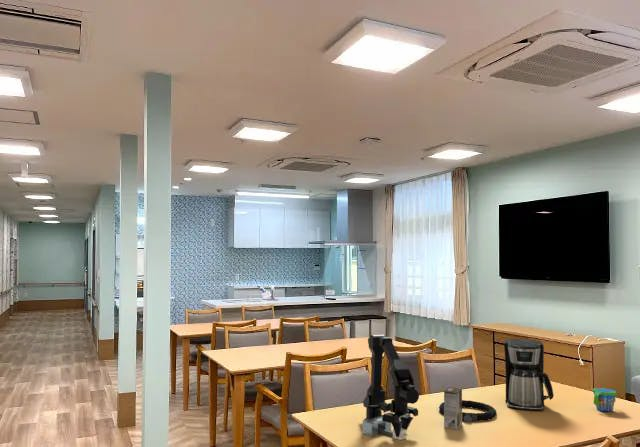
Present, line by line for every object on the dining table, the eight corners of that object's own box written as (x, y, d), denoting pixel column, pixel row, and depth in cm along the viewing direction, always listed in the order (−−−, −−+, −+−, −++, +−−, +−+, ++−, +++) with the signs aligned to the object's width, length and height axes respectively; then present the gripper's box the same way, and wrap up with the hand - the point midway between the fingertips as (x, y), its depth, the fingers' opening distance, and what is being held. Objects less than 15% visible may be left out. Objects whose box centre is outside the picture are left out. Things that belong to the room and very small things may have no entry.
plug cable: (361, 429, 236) (362, 420, 236) (367, 427, 239) (367, 418, 239) (403, 440, 221) (403, 432, 222) (408, 438, 224) (408, 429, 225)
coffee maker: (513, 411, 269) (513, 343, 272) (488, 395, 302) (488, 335, 304) (557, 411, 271) (556, 344, 274) (527, 395, 303) (527, 335, 306)
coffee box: (448, 422, 249) (448, 386, 250) (462, 424, 246) (462, 388, 247) (443, 427, 241) (443, 390, 242) (457, 429, 238) (457, 392, 239)
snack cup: (605, 406, 283) (605, 386, 284) (624, 411, 274) (624, 391, 275) (585, 409, 277) (584, 389, 278) (603, 414, 267) (603, 393, 268)
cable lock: (495, 401, 275) (498, 417, 246) (495, 409, 275) (498, 426, 246) (439, 397, 282) (437, 412, 253) (439, 404, 282) (437, 420, 253)
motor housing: (362, 433, 230) (362, 421, 230) (381, 426, 240) (382, 414, 240) (371, 436, 226) (371, 423, 227) (391, 429, 237) (391, 417, 237)
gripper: (397, 390, 238) (397, 426, 237) (371, 397, 225) (371, 436, 224) (419, 395, 231) (418, 432, 230) (393, 403, 217) (393, 442, 216)
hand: (400, 435), depth 225 cm, fingers closed on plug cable, 4 cm apart
